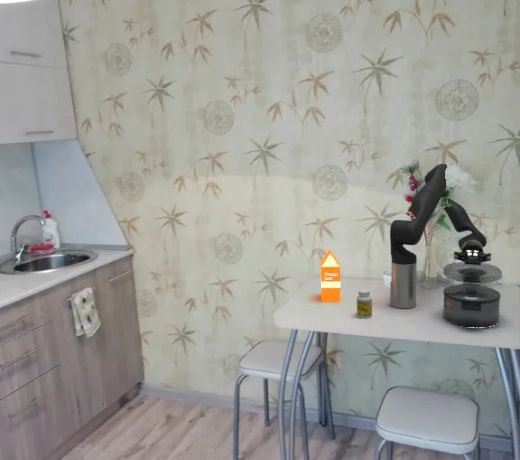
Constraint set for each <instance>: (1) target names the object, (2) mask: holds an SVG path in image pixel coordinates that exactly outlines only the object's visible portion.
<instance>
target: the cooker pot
mask: <svg viewBox="0 0 520 460" xmlns="http://www.w3.org/2000/svg"><path fill="white" fill-rule="evenodd" d="M442 292H443V309H442V310H443V312H442V313H443V315H442V318H443V317H444V318H443V320H444V319H445V320H446V321H448V322H450V323H452V324H451V325H453V324H455V325H458V326H457V327H459V326H463V327H462V328H464V327H475V328H476V327H478V328H479V327H489V326H493V325H496V324H497V323H498V322H500V321H499V320H500V302H501V297H502V296H501V293H500V291H499V290H496V289H494V288H492V287H488V286H483V285H481V283H466V282H462V284H454V285H450V286H447V287H445V288H444V289H443V291H442ZM445 320H444V321H445ZM446 321H445V322H446ZM448 322H447V323H448ZM450 323H449V324H450ZM498 324H499V323H498ZM455 325H454V326H455ZM496 326H497V325H496Z"/></svg>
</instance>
